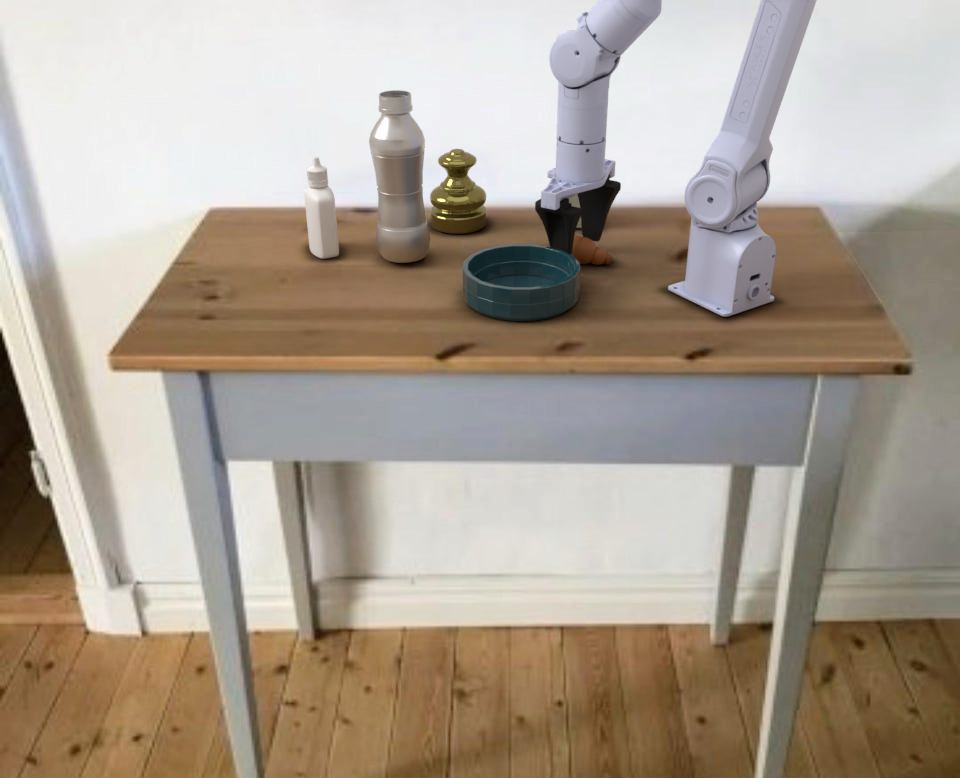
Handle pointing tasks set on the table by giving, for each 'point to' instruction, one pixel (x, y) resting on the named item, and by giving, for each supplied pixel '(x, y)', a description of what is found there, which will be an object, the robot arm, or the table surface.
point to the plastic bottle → (399, 180)
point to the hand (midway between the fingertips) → (576, 249)
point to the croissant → (589, 252)
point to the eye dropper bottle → (321, 213)
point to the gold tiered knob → (458, 196)
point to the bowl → (521, 282)
